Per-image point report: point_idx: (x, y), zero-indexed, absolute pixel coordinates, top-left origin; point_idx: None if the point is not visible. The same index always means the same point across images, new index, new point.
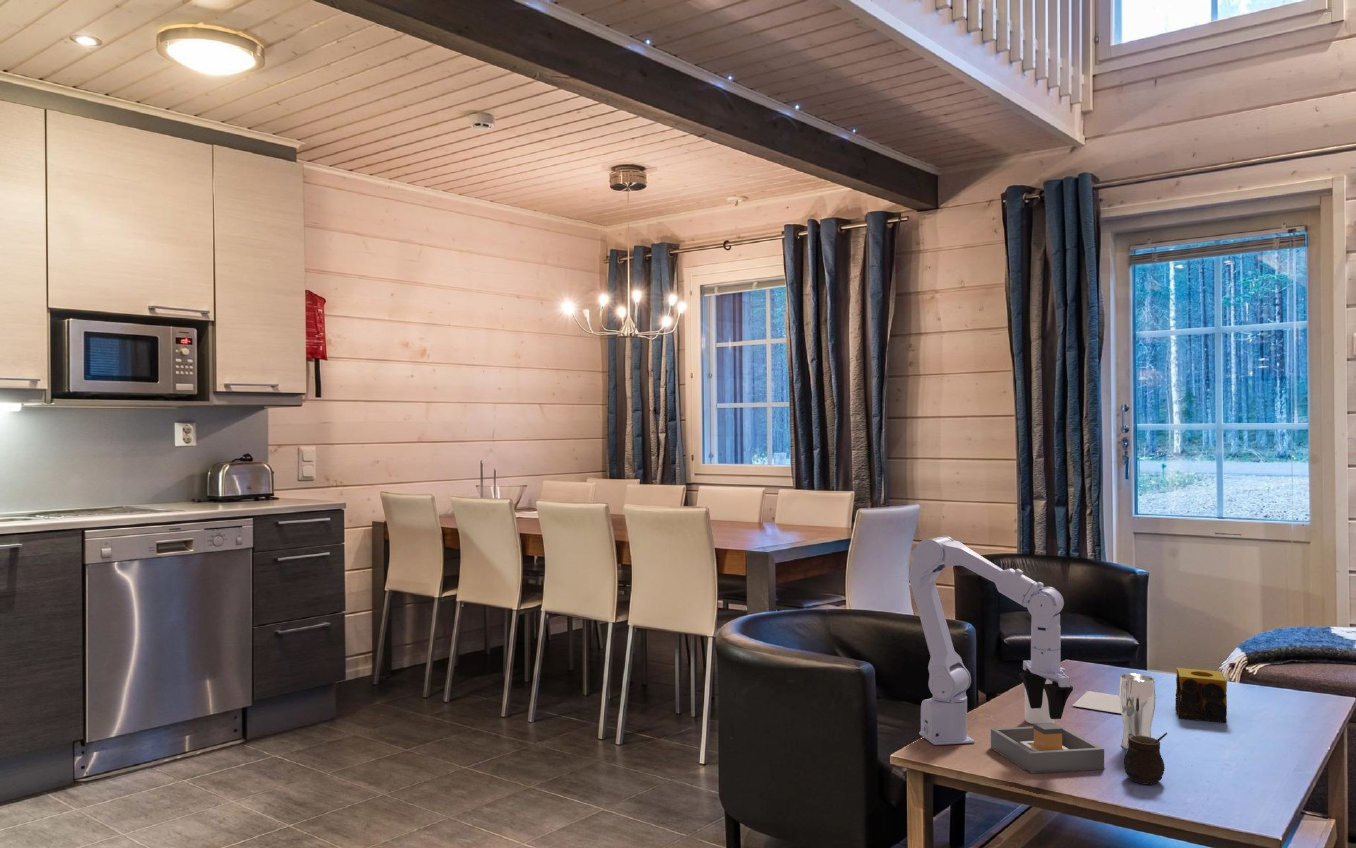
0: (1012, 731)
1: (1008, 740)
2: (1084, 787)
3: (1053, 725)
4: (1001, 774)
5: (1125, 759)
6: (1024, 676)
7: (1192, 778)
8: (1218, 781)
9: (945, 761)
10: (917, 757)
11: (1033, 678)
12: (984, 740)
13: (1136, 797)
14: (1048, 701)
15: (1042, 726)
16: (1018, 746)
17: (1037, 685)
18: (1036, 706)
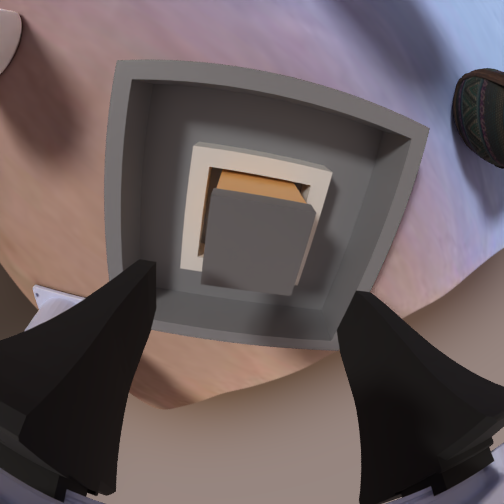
0: (125, 267)
1: (221, 339)
2: (432, 263)
3: (261, 223)
4: (297, 357)
5: (491, 156)
6: (111, 493)
7: (483, 17)
8: (497, 3)
9: (199, 390)
10: (171, 404)
11: (95, 462)
12: (78, 265)
13: (496, 212)
14: (363, 413)
15: (254, 278)
16: (278, 346)
17: (103, 395)
18: (153, 294)
